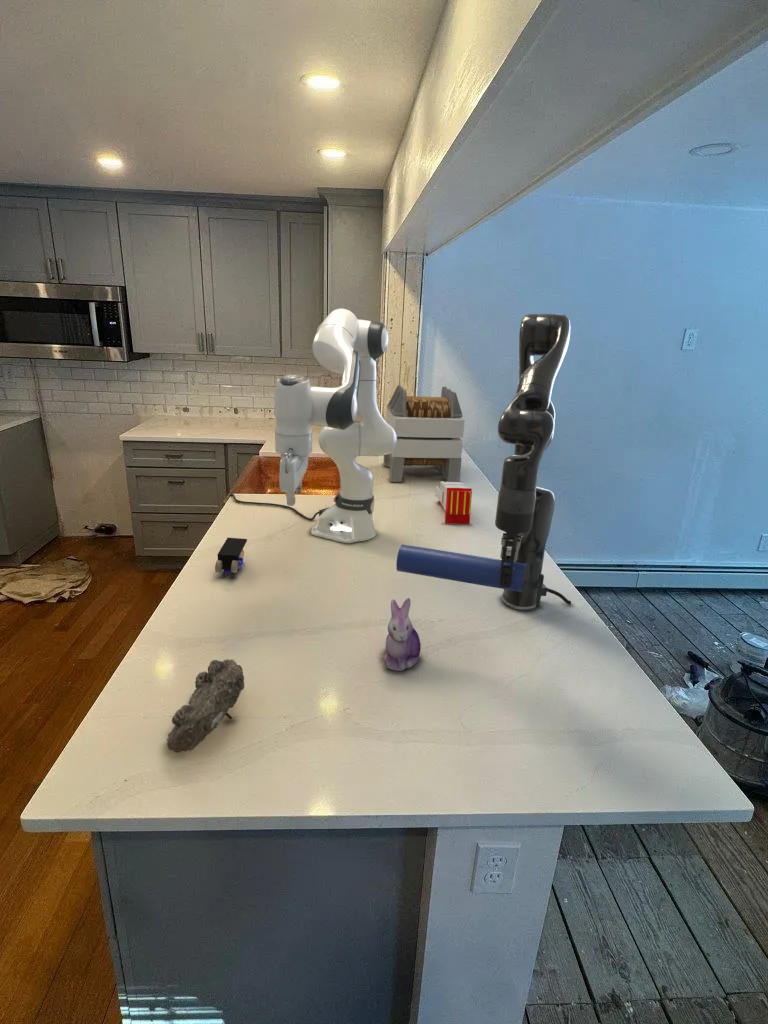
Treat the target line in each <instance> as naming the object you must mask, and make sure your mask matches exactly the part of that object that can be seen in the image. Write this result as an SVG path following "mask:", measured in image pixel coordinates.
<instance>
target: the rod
mask: <svg viewBox="0 0 768 1024" xmlns="http://www.w3.org/2000/svg"><path fill="white" fill-rule="evenodd" d="M397 551H398V552H397V556H396V563H395V566H396V571H397V572H400V573H406V574H412V575H417V576H418V575H419V576H424V577H431V578H434V579H435V578H437V579H442V580H447V581H454V582H459V583H465V584H472V585H477V586H483V587H488V588H494V589H501V590H504V589H506V590H512V591H518V592H522V588H523V581H524V574H525V567H526V564H525V563H518V562H514V567H513V568H514V571H513V572H512V578H511V585H510V587H509V588H506V587H501V586H500V578H501V571H500V570H501V569H500V567H501V561H502V559H498V558H493V557H485V556H479V555H473V554H466V553H461V552H460V553H459V552H455V551H454V552H453V551H447V550H441V549H435V548H428V547H422V546H415V545H409V544H403V543H402V544H401V545H400V546H399V548H398V550H397ZM504 565H507V566H511V563H507V562H504Z"/></svg>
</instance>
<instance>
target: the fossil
mask: <svg viewBox="0 0 768 1024" xmlns="http://www.w3.org/2000/svg"><path fill="white" fill-rule="evenodd" d="M243 670H244V669H243V667H242V665H240V664H237V662H236V661H235V660H234V659H232V658H231V659H227V658H226V659H224V660H223V661H222V660H217V659H212V660H211V661H210V663H209V665H208V666H207V671H201V672H199V673H198V674H197V675H196V676H195V680H194V684H195V685H194V687H195V689H194V690H193V693H192V694H191V697H190V698H189V700H188V704H184V705H182V706H181V707H180V709H177V710H176V711H175V713H174V715H173V716H172V718H171V723H172V724H173V727H172V730H171V731H170V732H168V734H167V738H166V741H167V742H166V745H167V749H168V750H169V751H173V752H174V753H176V754H178V753H182V752H188V751H189V752H192V751H193V750H195V748H196V747H197V746H199V744H200V743H201V742H203V741H204V740H205V739H206V738H207V737H208V736H209V735H210V734H211V733H212V732H214V730H215V729H217V727H218V726H219V724H220V722H221V721H222V720H223V719H224V718H225V716H226V717H227V719H229V720H233V717H232V715H230V714H229V710H230V709H231V708H234V706H235V704H236V703H237V702H238V699H239V697H240V695H241V693H242V691H243V690H245V689H244V688H245V675H244V671H243Z"/></svg>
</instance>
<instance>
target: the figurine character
mask: <svg viewBox="0 0 768 1024" xmlns="http://www.w3.org/2000/svg"><path fill="white" fill-rule="evenodd" d="M247 542H248V538H240V537H226V539H225V541H224V543H223V544H222V546H221V547H220V549H219V551H218V552H217V560H216V562H215V564H214V572H215V573H221V577H222V578H224V577H225V576H226V574H227V573H230V574H231V573H232V574H231V578H234V577H235V575H236V573H237V572H239V571H240V567H242V566H243V565H244V564H245V562H244V558H245V551H244V547H245V546H246V544H247Z"/></svg>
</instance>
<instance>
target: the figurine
mask: <svg viewBox="0 0 768 1024" xmlns="http://www.w3.org/2000/svg"><path fill="white" fill-rule="evenodd" d="M411 603H412V601H411V598H410V597H408V598H406V599H405V600H404V602H403V604H402V605H401V607H399V604H398V603H397V600H396V599H394V598H393V599H391V601H390V615H391V616H390V619H389V621H388V623H387V632H388V634H387V636H386V639H385V641H386V642H385V650H384V651H385V652H384V656H383V659H384V661H385V664H386V667H387V669H388V670H393V671H399V672H400V671H404V670H406V669H411V668H413V667H414V666H415V665H416V664H417V663H418V661H419V659H420V653H421V649H422V644H421V639H420V636H419V633H418V632H417V630H416V629H415V627H414V626H413V623H412V621H411V619H410V617H409V614H410V613H409V612H410V609H411Z"/></svg>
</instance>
